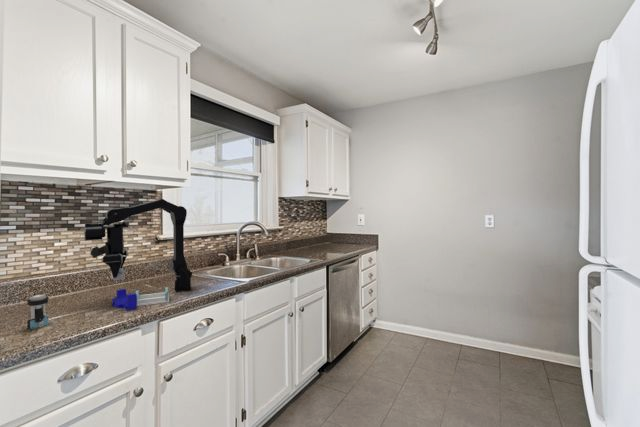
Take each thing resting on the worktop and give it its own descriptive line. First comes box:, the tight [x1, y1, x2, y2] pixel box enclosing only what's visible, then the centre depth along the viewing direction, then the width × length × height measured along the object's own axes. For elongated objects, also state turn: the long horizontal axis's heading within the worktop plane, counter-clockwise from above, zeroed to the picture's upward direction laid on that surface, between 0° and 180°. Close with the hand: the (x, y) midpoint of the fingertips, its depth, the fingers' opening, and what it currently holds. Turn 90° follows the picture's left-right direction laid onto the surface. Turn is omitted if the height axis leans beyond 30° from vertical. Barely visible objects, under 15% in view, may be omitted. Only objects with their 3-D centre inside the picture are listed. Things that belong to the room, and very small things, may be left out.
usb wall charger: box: [110, 268, 125, 281], centre depth 130 cm, size 4×7×4 cm, turn 44°
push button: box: [26, 294, 54, 330], centre depth 102 cm, size 7×5×10 cm
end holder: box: [134, 286, 170, 307], centre depth 129 cm, size 13×10×4 cm
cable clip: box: [111, 288, 138, 312], centre depth 121 cm, size 12×4×6 cm, turn 51°
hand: (116, 275), depth 130 cm, fingers closed on usb wall charger, 7 cm apart
